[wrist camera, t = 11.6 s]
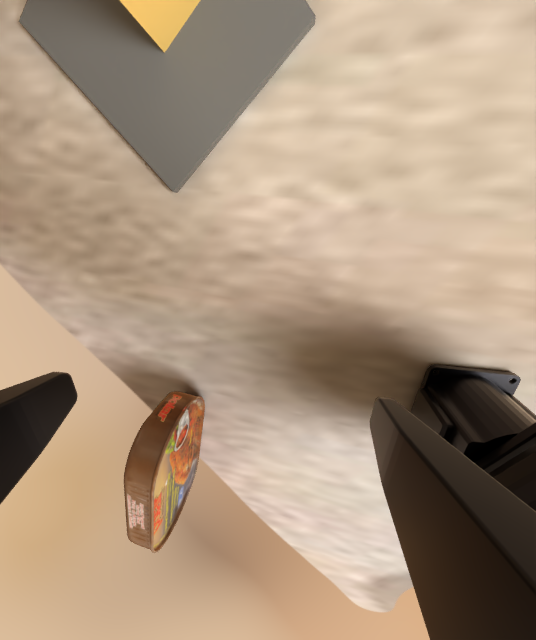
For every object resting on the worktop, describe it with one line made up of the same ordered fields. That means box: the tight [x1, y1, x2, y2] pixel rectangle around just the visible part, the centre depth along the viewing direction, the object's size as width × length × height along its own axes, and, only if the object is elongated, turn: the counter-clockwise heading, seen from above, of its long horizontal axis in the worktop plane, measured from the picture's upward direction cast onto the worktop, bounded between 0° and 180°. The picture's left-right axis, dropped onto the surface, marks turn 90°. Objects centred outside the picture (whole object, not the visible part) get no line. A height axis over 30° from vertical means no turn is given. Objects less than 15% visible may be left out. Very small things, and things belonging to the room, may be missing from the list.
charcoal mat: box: [19, 0, 315, 193], centre depth 14 cm, size 12×12×1 cm
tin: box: [124, 391, 205, 553], centre depth 23 cm, size 15×3×8 cm, turn 169°
